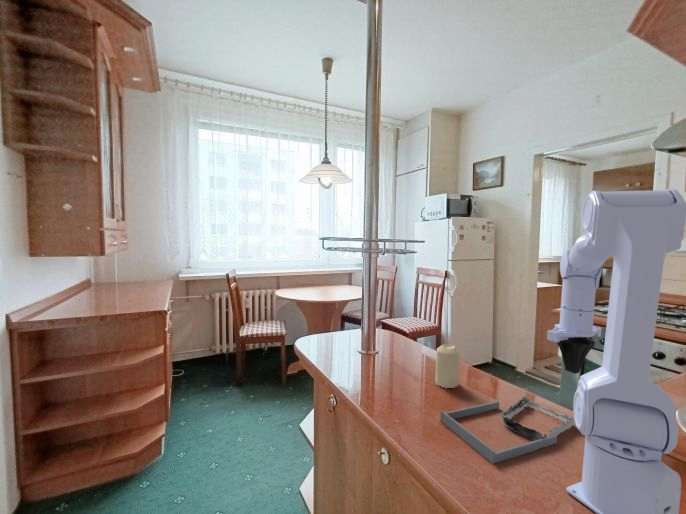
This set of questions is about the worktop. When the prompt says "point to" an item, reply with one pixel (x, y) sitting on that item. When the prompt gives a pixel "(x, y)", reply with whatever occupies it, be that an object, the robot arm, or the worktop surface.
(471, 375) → the worktop surface
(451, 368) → the candle
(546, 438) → the box
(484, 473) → the worktop surface
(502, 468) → the worktop surface
